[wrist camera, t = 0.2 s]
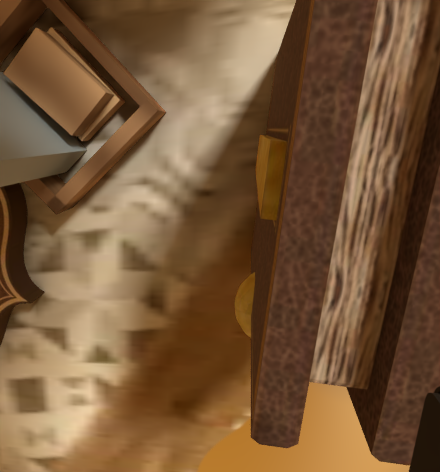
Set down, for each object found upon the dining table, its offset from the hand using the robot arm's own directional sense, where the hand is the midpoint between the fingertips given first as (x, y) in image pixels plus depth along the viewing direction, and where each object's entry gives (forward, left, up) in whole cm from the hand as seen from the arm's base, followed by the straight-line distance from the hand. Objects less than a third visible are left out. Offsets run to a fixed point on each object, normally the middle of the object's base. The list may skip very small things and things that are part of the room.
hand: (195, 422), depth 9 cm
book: (-5, +2, -31) cm, 32 cm away
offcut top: (+4, -17, -29) cm, 34 cm away
